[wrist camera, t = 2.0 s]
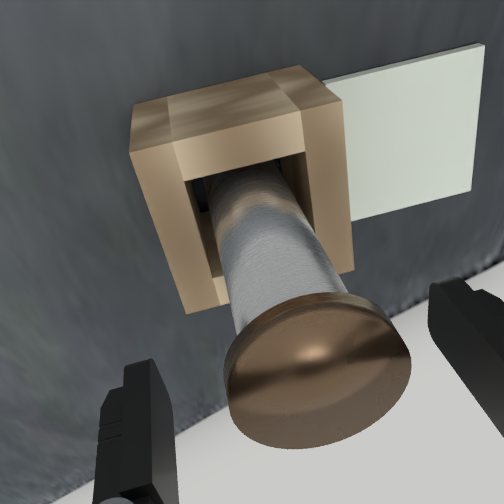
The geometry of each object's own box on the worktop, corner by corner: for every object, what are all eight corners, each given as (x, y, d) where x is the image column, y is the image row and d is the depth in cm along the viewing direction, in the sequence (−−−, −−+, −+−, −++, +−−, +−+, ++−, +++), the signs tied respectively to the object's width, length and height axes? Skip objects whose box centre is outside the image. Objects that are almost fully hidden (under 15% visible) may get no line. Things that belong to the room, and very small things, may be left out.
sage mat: (477, 43, 23) (485, 45, 23) (465, 186, 28) (470, 190, 27) (321, 81, 23) (325, 84, 22) (334, 219, 27) (338, 224, 27)
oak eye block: (299, 64, 22) (342, 100, 17) (316, 209, 27) (354, 270, 22) (133, 104, 22) (128, 152, 17) (179, 244, 26) (186, 314, 21)
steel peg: (272, 105, 23) (412, 296, 11) (285, 191, 26) (410, 421, 13) (176, 128, 23) (208, 350, 11) (200, 212, 26) (248, 466, 13)
